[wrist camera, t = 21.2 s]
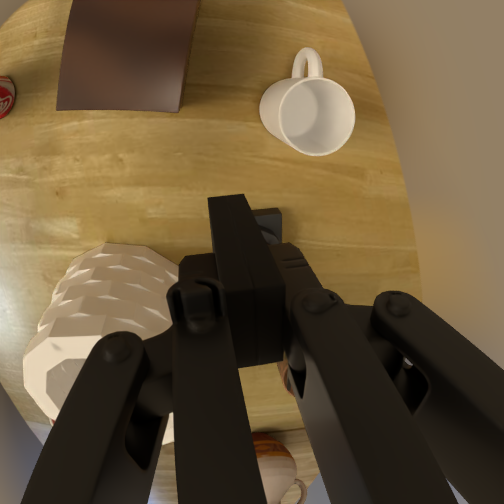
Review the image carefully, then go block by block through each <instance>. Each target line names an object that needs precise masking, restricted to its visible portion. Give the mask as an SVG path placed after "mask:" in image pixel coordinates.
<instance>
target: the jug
mask: <svg viewBox="0 0 504 504" xmlns="http://www.w3.org/2000/svg"><path fill="white" fill-rule="evenodd" d="M251 434H252V438H253V443H254V447H255V452H256V456H257V461H258V465H259V469H260V474H261V478H262V482H263V486H264V491H265V495H266V499H267V503H268V504H281V499H282V497H283V496H284V494H285V493H286V492H287V490H288V489H289V488H290V487H291V486H292V485H293V484H298V485H299V487H300V488H301V498H300V500H299V502H298V503H297V504H304V502H305V500H306V497H307V489H306V486H305V484H304V483H303V481H301V480H299V479H295V478H296V475H297V467H296V463H295V461H294V459H293V457H292V455H291V454H290V452H289V451H288V450H287V448H286V447H285V446H284V445H283V444H282V443H281V442H279V441H277V440H276V439H275V438H273V437H271V436H269V435H268V434H266V433H262V432H256V433H251Z"/></svg>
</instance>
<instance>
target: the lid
mask: <svg viewBox="0 0 504 504" xmlns="http://www.w3.org/2000/svg"><path fill="white" fill-rule="evenodd" d="M197 4H198V0H73V2H72V6H71V10H70V15H69V20H68V24H67V30H66V35H65V40H64V46H63V53H62V59H61V67H60V75H59V83H58V94H57V106H56V111H62V110H134V111H155V112H170V113H178V112H179V106H180V99H181V92H182V85H183V79H184V72H185V66H186V60H187V55H188V49H189V44H190V38H191V33H192V28H193V23H194V18H195V13H196V9H197Z"/></svg>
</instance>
